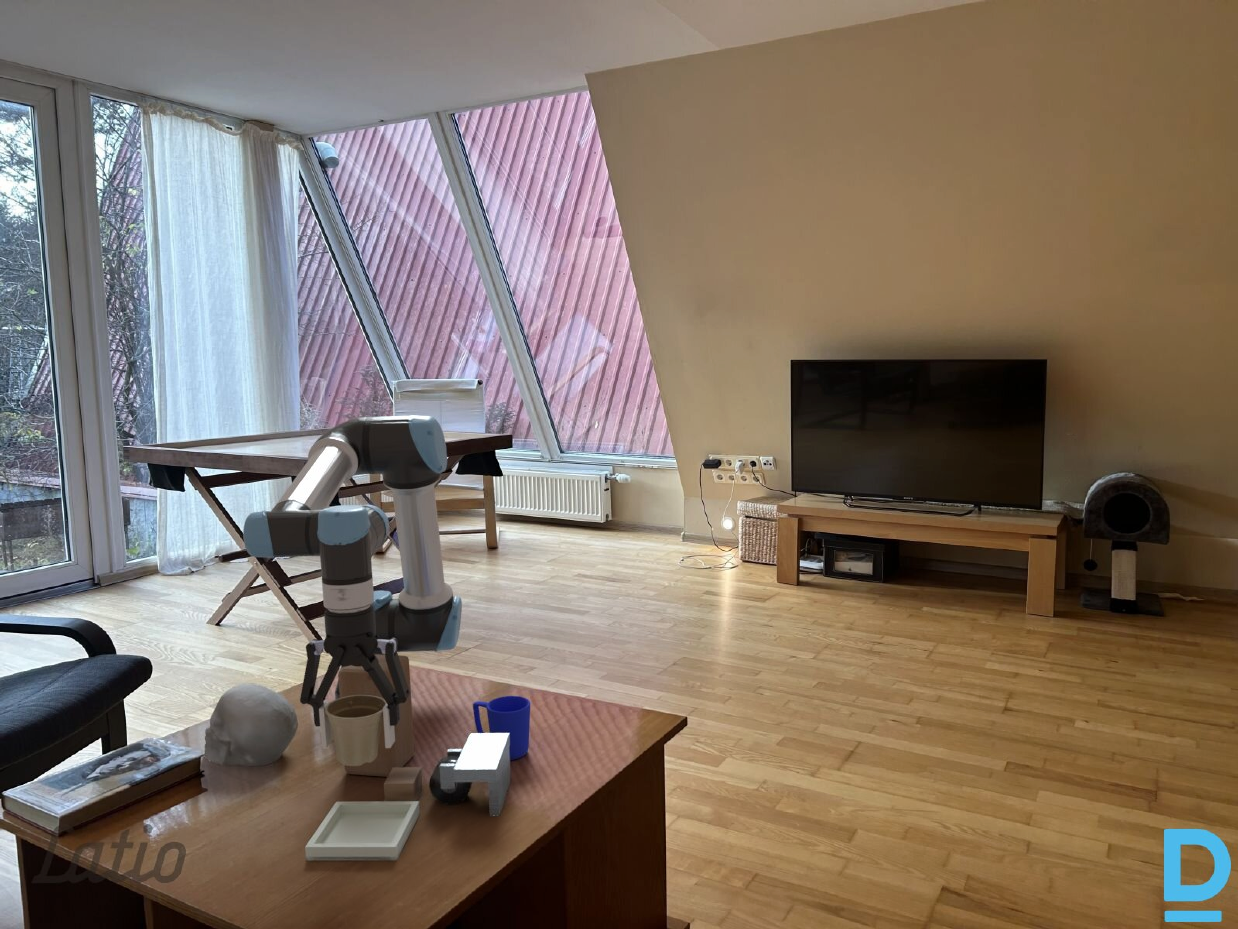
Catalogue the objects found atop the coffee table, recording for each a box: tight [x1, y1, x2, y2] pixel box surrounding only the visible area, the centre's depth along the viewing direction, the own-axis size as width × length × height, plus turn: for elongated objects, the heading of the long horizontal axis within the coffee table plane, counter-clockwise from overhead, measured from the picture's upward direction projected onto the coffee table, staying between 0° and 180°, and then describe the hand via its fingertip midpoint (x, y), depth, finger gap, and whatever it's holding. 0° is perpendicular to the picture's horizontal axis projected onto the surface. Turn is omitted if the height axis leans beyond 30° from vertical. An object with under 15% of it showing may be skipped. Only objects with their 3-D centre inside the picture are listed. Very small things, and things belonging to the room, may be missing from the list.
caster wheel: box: [428, 732, 512, 817], centre depth 159 cm, size 14×12×9 cm
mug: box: [472, 695, 531, 761], centre depth 177 cm, size 8×12×10 cm
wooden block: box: [337, 654, 415, 778], centre depth 172 cm, size 10×10×20 cm
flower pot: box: [325, 695, 386, 766], centre depth 147 cm, size 9×9×9 cm
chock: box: [383, 766, 424, 801], centre depth 160 cm, size 6×5×4 cm
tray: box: [304, 800, 421, 862], centre depth 149 cm, size 14×14×2 cm
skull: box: [203, 682, 299, 767], centre depth 178 cm, size 13×18×15 cm
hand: (358, 744), depth 147 cm, fingers closed on flower pot, 9 cm apart
